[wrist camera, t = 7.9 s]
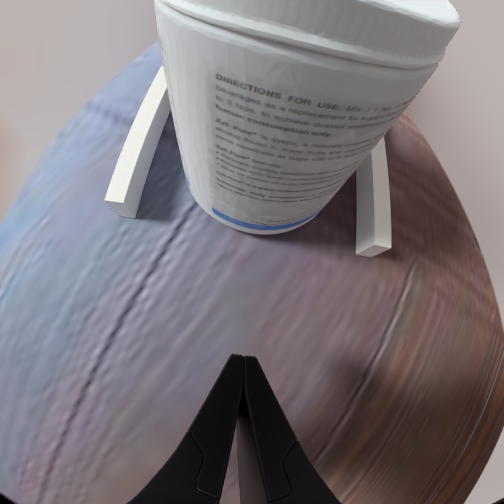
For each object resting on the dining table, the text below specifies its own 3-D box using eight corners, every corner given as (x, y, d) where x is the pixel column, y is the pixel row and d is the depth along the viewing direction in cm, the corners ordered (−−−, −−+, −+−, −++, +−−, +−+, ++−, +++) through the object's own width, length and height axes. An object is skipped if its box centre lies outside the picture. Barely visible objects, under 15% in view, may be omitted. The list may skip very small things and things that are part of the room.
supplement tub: (352, 174, 19) (482, 20, 5) (264, 272, 17) (442, 82, 3) (251, 95, 20) (288, -80, 6) (154, 169, 17) (91, -49, 3)
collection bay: (371, 257, 18) (391, 248, 15) (118, 215, 16) (104, 200, 14) (365, 116, 21) (377, 97, 18) (169, 79, 19) (166, 57, 17)
